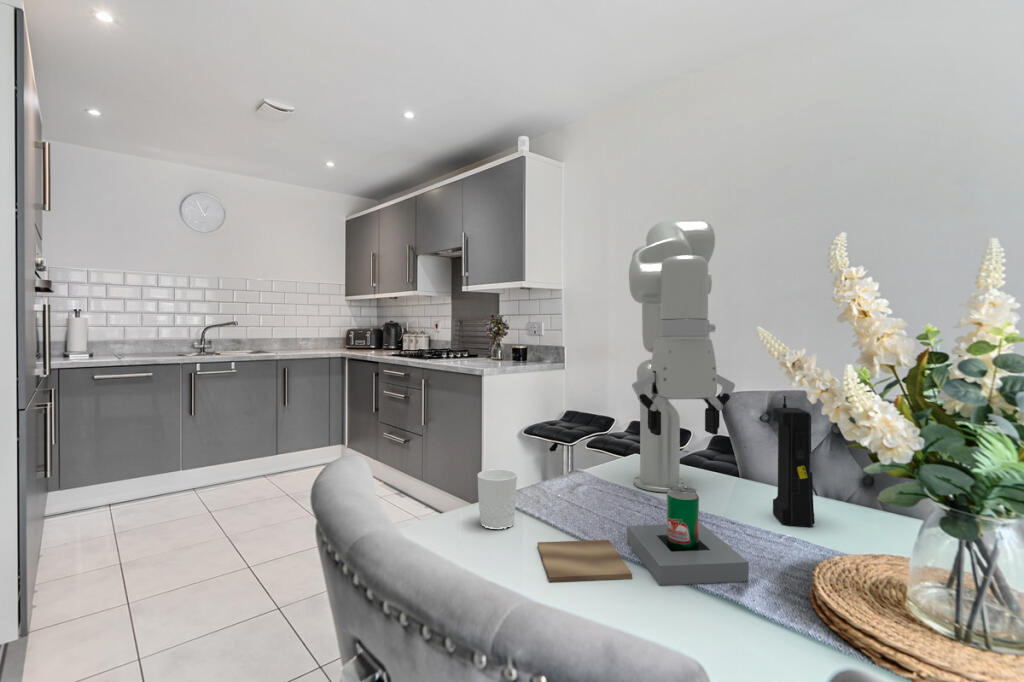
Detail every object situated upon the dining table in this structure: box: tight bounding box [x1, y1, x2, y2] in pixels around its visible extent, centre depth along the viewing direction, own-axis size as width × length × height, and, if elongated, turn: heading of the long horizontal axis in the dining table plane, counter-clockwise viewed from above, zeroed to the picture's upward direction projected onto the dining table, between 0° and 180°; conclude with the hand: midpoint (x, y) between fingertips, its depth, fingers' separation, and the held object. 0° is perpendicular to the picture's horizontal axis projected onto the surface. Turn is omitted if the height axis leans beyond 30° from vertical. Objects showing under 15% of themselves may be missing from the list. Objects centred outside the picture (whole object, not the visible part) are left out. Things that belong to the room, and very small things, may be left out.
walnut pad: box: [537, 539, 633, 583], centre depth 85 cm, size 13×13×1 cm
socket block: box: [626, 522, 750, 586], centre depth 85 cm, size 16×14×3 cm
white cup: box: [477, 468, 518, 528], centre depth 102 cm, size 8×8×10 cm
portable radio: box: [772, 395, 816, 528], centre depth 103 cm, size 8×6×25 cm
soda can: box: [666, 485, 700, 552], centre depth 85 cm, size 5×5×12 cm
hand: (683, 433), depth 85 cm, fingers open, 9 cm apart
